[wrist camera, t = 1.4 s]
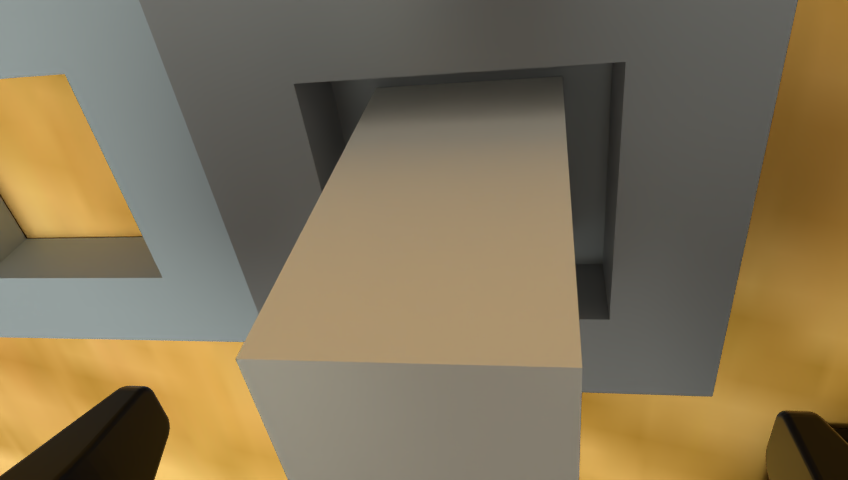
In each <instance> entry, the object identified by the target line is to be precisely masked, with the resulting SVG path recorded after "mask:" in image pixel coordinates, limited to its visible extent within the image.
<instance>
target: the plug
mask: <svg viewBox="0 0 848 480" xmlns="http://www.w3.org/2000/svg"><path fill="white" fill-rule="evenodd" d="M236 361H237V363H238V366H239V368H240V370H241V373H242V375H243V377H244V380H245V382H246V384H247V386H248V389H249V391H250V393H251V396H252V398H253V400H254V403H255V405H256V407H257V409H258V412H259V414H260V416H261V419H262V421H263V423H264V426H265V428H266V430H267V432H268V435H269V437H270V439H271V442H272V444H273V446H274V449H275V451H276V453H277V456H278V458H279V460H280V462H281V465H282V467H283V469H284V472H285V474H286V476H287V479H288V480H579V461H580V429H581V397H582V355H581V340H580V326H579V311H578V297H577V282H576V268H575V253H574V239H573V224H572V210H571V195H570V181H569V167H568V152H567V138H566V123H565V109H564V94H563V80H562V76H560V77H544V78H528V79H512V80H496V81H480V82H464V83H448V84H432V85H416V86H400V87H385V88H376V89H375V91H374V93H373V95H372V97H371V99H370V101H369V103H368V105H367V107H366V108H365V110H364V112H363V114H362V116H361V118H360V120H359V122H358V124H357V126H356V128H355V130H354V132H353V134H352V135H351V137H350V139H349V141H348V143H347V145H346V147H345V149H344V151H343V153H342V155H341V157H340V159H339V161H338V162H337V164H336V166H335V168H334V170H333V172H332V174H331V176H330V178H329V180H328V182H327V184H326V186H325V188H324V189H323V191H322V193H321V195H320V197H319V199H318V201H317V203H316V205H315V207H314V209H313V211H312V213H311V215H310V216H309V218H308V220H307V222H306V224H305V226H304V228H303V230H302V232H301V234H300V236H299V238H298V240H297V242H296V243H295V245H294V247H293V249H292V251H291V253H290V255H289V257H288V259H287V261H286V263H285V265H284V267H283V269H282V270H281V272H280V274H279V276H278V278H277V280H276V282H275V284H274V286H273V288H272V290H271V292H270V294H269V296H268V297H267V299H266V301H265V303H264V305H263V307H262V309H261V311H260V313H259V315H258V317H257V319H256V321H255V323H254V324H253V326H252V328H251V330H250V332H249V334H248V336H247V338H246V340H245V342H244V344H243V346H242V348H241V350H240V351H239V353H238V355H237V357H236Z"/></svg>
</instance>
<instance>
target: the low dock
mask: <svg viewBox="0 0 848 480" xmlns="http://www.w3.org/2000/svg"><path fill="white" fill-rule="evenodd" d="M57 74H65V75H66V77H67V80H68V82H69V84H70V86H71V88H72V90H73V92H74V94H75V96H76V98H77V100H78V102H79V105H80V107H81V109H82V111H83V113H84V115H85V117H86V119H87V121H88V123H89V125H90V127H91V130H92V132H93V134H94V136H95V138H96V140H97V142H98V144H99V146H100V148H101V150H102V152H103V155H104V157H105V159H106V161H107V163H108V165H109V167H110V169H111V171H112V173H113V175H114V177H115V180H116V182H117V184H118V186H119V188H120V190H121V192H122V194H123V196H124V198H125V200H126V202H127V205H128V207H129V209H130V211H131V213H132V215H133V217H134V219H135V221H136V223H137V225H138V227H139V230H140V232H141V234H142V236H143V237H107V238H45V239H26V237H25V236H24V234H23V232H22V231H21V229H20V228H19V226H18V224H17V223H16V221H15V219H14V218H13V216H12V215H11V213H10V211H9V210H8V208H7V206H6V205H5V203H4V202H3V200H2V198H1V197H0V337H19V338H70V339H121V340H173V341H224V342H245V340H246V338H247V336H248V334H249V332H250V330H251V328H252V326H253V324H254V323H255V321H256V319H257V317H258V315H259V314H258V311H257V309H256V306H255V304H254V301H253V298H252V296H251V293H250V290H249V288H248V285H247V283H246V280H245V277H244V275H243V272H242V269H241V267H240V264H239V262H238V259H237V256H236V254H235V251H234V248H233V246H232V243H231V241H230V238H229V235H228V233H227V230H226V227H225V225H224V222H223V220H222V217H221V214H220V212H219V209H218V206H217V204H216V201H215V199H214V196H213V193H212V191H211V188H210V185H209V183H208V180H207V178H206V175H205V172H204V170H203V167H202V164H201V162H200V159H199V157H198V154H197V151H196V149H195V146H194V143H193V141H192V138H191V135H190V133H189V130H188V128H187V125H186V122H185V120H184V117H183V114H182V112H181V109H180V107H179V104H178V101H177V99H176V96H175V93H174V91H173V88H172V86H171V83H170V80H169V78H168V75H167V72H166V70H165V67H164V65H163V62H162V59H161V57H160V54H159V51H158V49H157V46H156V44H155V41H154V38H153V36H152V33H151V30H150V28H149V25H148V23H147V20H146V17H145V15H144V12H143V9H142V7H141V4H140V2H139V0H0V79H4V78H17V77H30V76H44V75H57Z"/></svg>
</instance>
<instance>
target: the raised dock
mask: <svg viewBox="0 0 848 480" xmlns="http://www.w3.org/2000/svg"><path fill="white" fill-rule="evenodd" d="M139 2H140V4H141V7H142V9H143V12H144V15H145V17H146V20H147V23H148V25H149V28H150V30H151V33H152V36H153V38H154V41H155V44H156V46H157V49H158V51H159V54H160V57H161V59H162V62H163V65H164V67H165V70H166V72H167V75H168V78H169V80H170V83H171V86H172V88H173V91H174V93H175V96H176V99H177V101H178V104H179V107H180V109H181V112H182V114H183V117H184V120H185V122H186V125H187V128H188V130H189V133H190V135H191V138H192V141H193V143H194V146H195V149H196V151H197V154H198V157H199V159H200V162H201V164H202V167H203V170H204V172H205V175H206V178H207V180H208V183H209V185H210V188H211V191H212V193H213V196H214V199H215V201H216V204H217V206H218V209H219V212H220V214H221V217H222V220H223V222H224V225H225V227H226V230H227V233H228V235H229V238H230V241H231V243H232V246H233V248H234V251H235V254H236V256H237V259H238V262H239V264H240V267H241V269H242V272H243V275H244V277H245V280H246V283H247V285H248V288H249V290H250V293H251V296H252V298H253V301H254V304H255V306H256V309H257V311H258V314H259V313H260V311H261V309H262V307H263V305H264V303H265V301H266V299H267V297H268V296H269V294H270V292H271V290H272V288H273V286H274V284H275V282H276V280H277V278H278V276H279V274H280V272H281V270H282V269H283V267H284V265H285V263H286V261H287V259H288V257H289V255H290V253H291V251H292V249H293V247H294V245H295V243H296V242H297V240H298V238H299V236H300V234H301V232H302V230H303V228H304V226H305V224H306V222H307V220H308V218H309V216H310V215H311V213H312V211H313V209H314V207H315V205H316V203H317V201H318V199H319V197H320V195H321V193H322V191H323V189H324V188H325V186H326V184H327V182H328V180H329V178H330V176H331V174H332V172H333V170H334V168H335V166H336V164H337V162H338V161H339V159H340V157H341V155H342V153H343V151H344V149H345V147H346V145H347V143H348V141H349V139H350V137H351V135H352V134H353V132H354V130H355V128H356V126H357V124H358V122H359V120H360V118H361V116H362V114H363V112H364V110H365V108H366V107H367V105H368V103H369V101H370V99H371V97H372V95H373V93H374V91H375V89H376V88H385V87H400V86H416V85H432V84H448V83H464V82H480V81H496V80H512V79H528V78H544V77H560V76H562V80H563V94H564V109H565V123H566V138H567V152H568V167H569V181H570V195H571V210H572V224H573V239H574V253H575V268H576V282H577V297H578V311H579V326H580V340H581V355H582V392H590V393H620V394H651V395H681V396H713V391H714V386H715V382H716V377H717V372H718V368H719V363H720V359H721V354H722V349H723V345H724V340H725V335H726V331H727V326H728V321H729V317H730V312H731V308H732V303H733V298H734V294H735V289H736V284H737V280H738V275H739V271H740V266H741V261H742V257H743V252H744V247H745V243H746V238H747V233H748V229H749V224H750V220H751V215H752V210H753V206H754V201H755V196H756V192H757V187H758V182H759V178H760V173H761V169H762V164H763V159H764V155H765V150H766V145H767V141H768V136H769V132H770V127H771V122H772V118H773V113H774V108H775V104H776V99H777V94H778V90H779V85H780V81H781V76H782V71H783V67H784V62H785V57H786V53H787V48H788V43H789V39H790V34H791V30H792V25H793V20H794V16H795V11H796V6H797V2H798V0H139Z"/></svg>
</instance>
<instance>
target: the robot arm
mask: <svg viewBox="0 0 848 480" xmlns="http://www.w3.org/2000/svg"><path fill="white" fill-rule="evenodd" d="M169 429H170V423H169V419H168V417H167V415H166V413H165V411H164V410H163V408H162V406H161V404H160V403H159V401H158V399H157V397H156V396H155V394H154V392H153V391H152V390H151V389H150V388H148V387H145V386H124V387H121V388H119V389H118V390H116V391H115V392H114V393H112V394H111V395H110V396H108V397H107V398H105V399H104V400H103V401H101V402H100V403H99V404H97V405H96V406H95V407H93V408H92V409H91V410H89V411H88V412H86V413H85V414H84V415H82V416H81V417H80V418H78V419H77V420H76V421H74V422H73V423H72V424H70V425H69V426H68V427H66V428H65V429H63V430H62V431H61V432H59V433H58V434H57V435H55V436H54V437H53V438H51V439H50V440H49V441H47V442H46V443H44V444H43V445H42V446H40V447H39V448H38V449H36V450H35V451H34V452H32V453H31V454H30V455H28V456H27V457H26V458H24V459H23V460H21V461H20V462H19V463H17V464H16V465H15V466H13V467H12V468H11V469H9V470H8V471H7V472H5V473H4V474H2V475H1V476H0V480H154V479H155V476H156V473H157V470H158V467H159V463H160V460H161V457H162V454H163V451H164V448H165V445H166V442H167V439H168V435H169ZM766 466H767V471H768V476H769V480H848V429H833V428H832V427H831V426H830V425H829V424H828V423H827V422H826V421H825V420H824V419H823V418H821V417H820V416H819V415H817V414H815V413H813V412H807V411H782V412H780V413H779V414H778V415H777V417H776V420H775V423H774V426H773V430H772V433H771V436H770V439H769V442H768V446H767V449H766Z"/></svg>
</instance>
